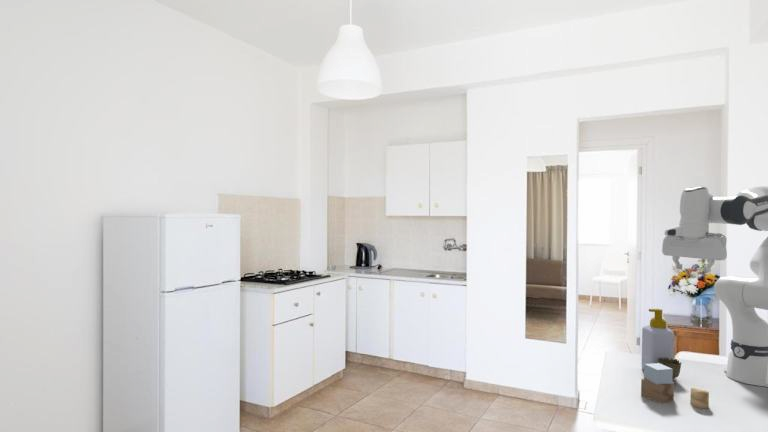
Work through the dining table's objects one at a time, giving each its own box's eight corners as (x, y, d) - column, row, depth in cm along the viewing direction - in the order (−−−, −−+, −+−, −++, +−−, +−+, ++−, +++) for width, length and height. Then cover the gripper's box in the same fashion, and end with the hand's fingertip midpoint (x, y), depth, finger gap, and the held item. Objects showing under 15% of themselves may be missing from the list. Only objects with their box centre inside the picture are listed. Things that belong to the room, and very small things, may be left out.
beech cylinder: (697, 401, 157) (698, 387, 157) (712, 408, 152) (712, 392, 152) (686, 403, 155) (687, 388, 155) (700, 409, 150) (701, 394, 150)
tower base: (653, 392, 164) (654, 375, 164) (673, 400, 158) (673, 382, 158) (641, 396, 161) (641, 378, 161) (660, 403, 155) (661, 385, 155)
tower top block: (658, 377, 163) (658, 363, 163) (672, 383, 157) (672, 368, 157) (643, 378, 162) (644, 364, 162) (657, 384, 156) (657, 369, 156)
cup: (684, 385, 171) (684, 364, 171) (662, 383, 173) (662, 362, 173) (675, 378, 179) (676, 357, 178) (654, 376, 180) (655, 356, 180)
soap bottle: (639, 367, 190) (641, 306, 190) (662, 368, 190) (663, 307, 189) (651, 375, 181) (653, 311, 181) (675, 376, 181) (676, 312, 180)
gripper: (731, 233, 159) (730, 273, 159) (669, 230, 176) (668, 266, 177) (721, 233, 155) (720, 274, 156) (660, 230, 173) (659, 267, 173)
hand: (692, 270), depth 166 cm, fingers open, 8 cm apart
